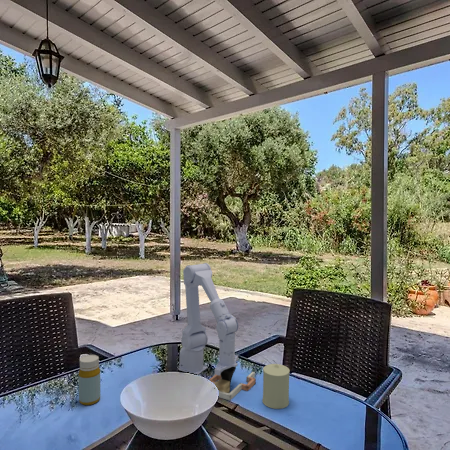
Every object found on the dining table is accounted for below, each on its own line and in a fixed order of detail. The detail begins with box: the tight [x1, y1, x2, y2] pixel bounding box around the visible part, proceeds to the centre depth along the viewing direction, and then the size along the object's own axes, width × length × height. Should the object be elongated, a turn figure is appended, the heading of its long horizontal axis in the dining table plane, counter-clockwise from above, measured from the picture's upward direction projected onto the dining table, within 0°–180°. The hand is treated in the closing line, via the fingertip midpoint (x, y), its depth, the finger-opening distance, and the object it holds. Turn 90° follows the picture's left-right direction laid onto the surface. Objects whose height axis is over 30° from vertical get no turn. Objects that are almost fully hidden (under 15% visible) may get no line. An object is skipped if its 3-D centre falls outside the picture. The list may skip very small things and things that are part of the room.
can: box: [262, 363, 291, 410], centre depth 129 cm, size 9×9×12 cm
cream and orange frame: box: [208, 370, 257, 401], centre depth 141 cm, size 15×20×2 cm
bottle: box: [78, 354, 101, 406], centre depth 128 cm, size 7×7×15 cm
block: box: [215, 379, 231, 393], centre depth 135 cm, size 4×4×4 cm
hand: (226, 386), depth 138 cm, fingers closed
